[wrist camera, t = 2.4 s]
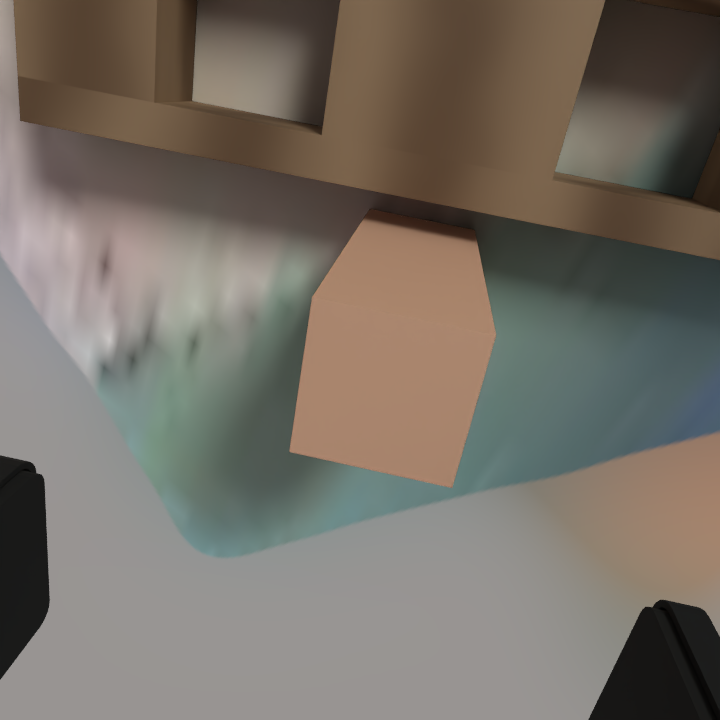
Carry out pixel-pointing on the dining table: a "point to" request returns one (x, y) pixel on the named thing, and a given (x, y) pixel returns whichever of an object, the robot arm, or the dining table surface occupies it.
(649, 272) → the dining table surface
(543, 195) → the rail
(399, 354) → the peg
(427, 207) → the dining table surface
